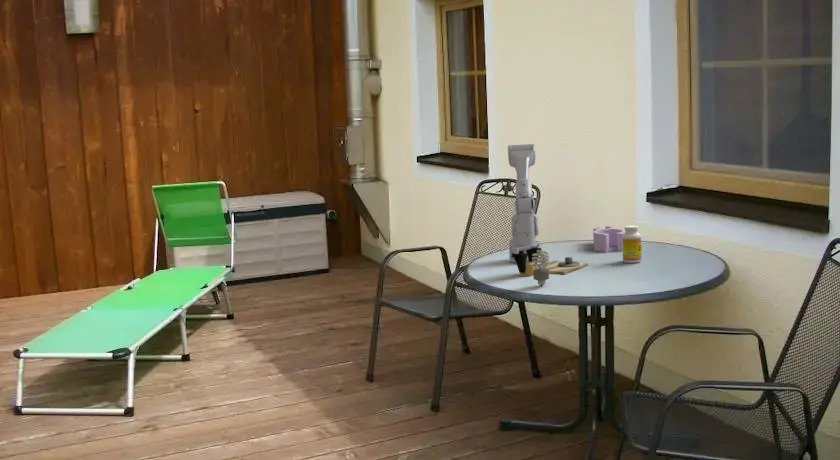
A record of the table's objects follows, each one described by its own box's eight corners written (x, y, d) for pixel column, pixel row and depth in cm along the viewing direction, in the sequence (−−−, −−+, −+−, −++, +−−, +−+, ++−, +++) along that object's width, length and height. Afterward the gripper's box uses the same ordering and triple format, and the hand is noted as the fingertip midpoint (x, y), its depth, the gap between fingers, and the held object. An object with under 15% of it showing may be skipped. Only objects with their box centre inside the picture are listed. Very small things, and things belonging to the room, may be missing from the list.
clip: (587, 244, 385) (586, 227, 384) (617, 242, 386) (617, 225, 385) (598, 253, 365) (598, 235, 364) (631, 251, 366) (630, 233, 365)
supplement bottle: (641, 263, 342) (641, 227, 340) (622, 263, 344) (621, 228, 341) (641, 259, 349) (640, 224, 347) (622, 260, 350) (621, 225, 348)
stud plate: (530, 271, 341) (530, 261, 340) (554, 262, 353) (554, 253, 352) (565, 274, 332) (564, 264, 331) (588, 265, 344) (588, 256, 343)
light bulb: (531, 284, 320) (530, 249, 318) (548, 283, 320) (546, 247, 318) (535, 288, 314) (533, 252, 312) (552, 287, 315) (550, 250, 313)
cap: (516, 275, 336) (516, 264, 335) (525, 272, 340) (524, 261, 339) (530, 276, 332) (529, 265, 331) (538, 273, 336) (538, 262, 335)
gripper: (523, 236, 325) (525, 275, 328) (546, 229, 336) (548, 267, 339) (506, 235, 330) (508, 273, 332) (529, 228, 341) (531, 265, 343)
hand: (527, 270), depth 336 cm, fingers open, 6 cm apart
